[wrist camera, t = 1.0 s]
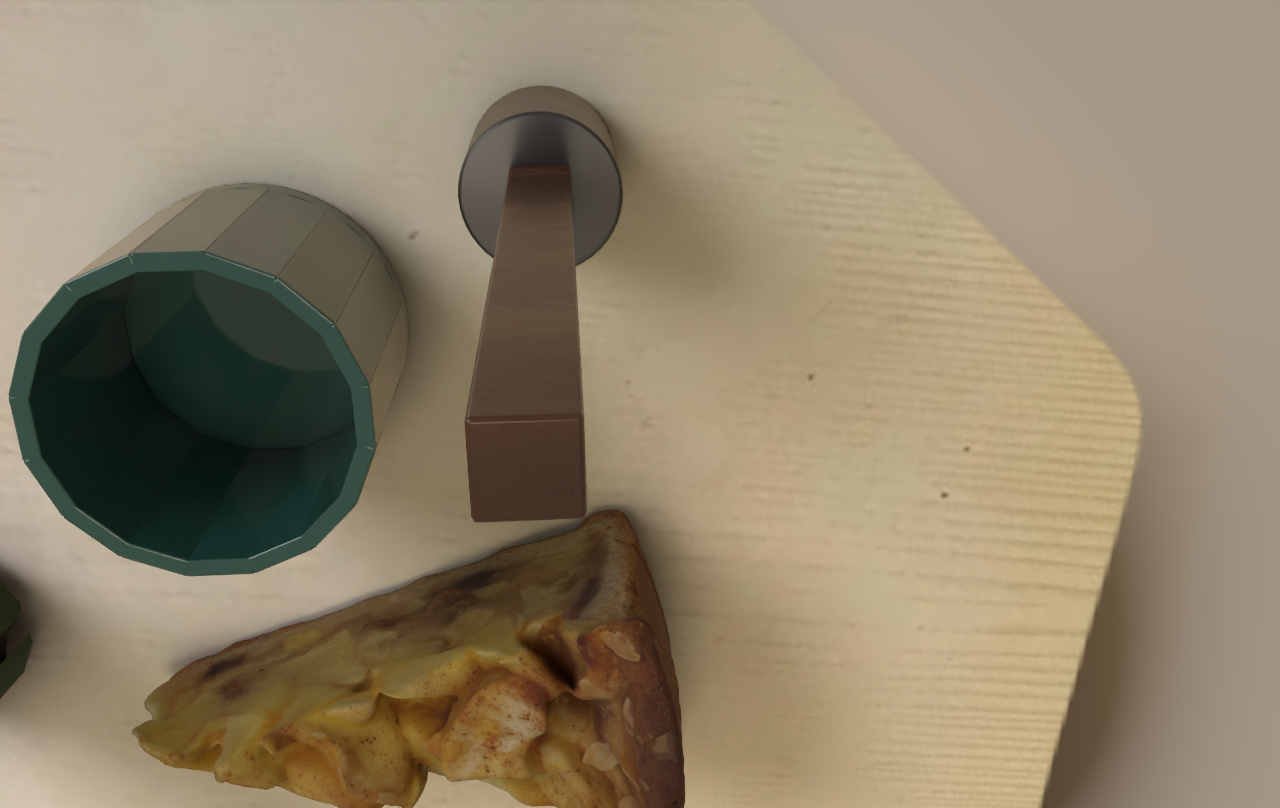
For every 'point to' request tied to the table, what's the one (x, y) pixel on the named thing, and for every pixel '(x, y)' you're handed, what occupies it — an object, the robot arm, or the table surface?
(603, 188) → the brown post with base
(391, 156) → the table surface
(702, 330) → the table surface
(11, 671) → the character mug
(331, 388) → the cup
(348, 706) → the pie slice
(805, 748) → the table surface
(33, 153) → the table surface
